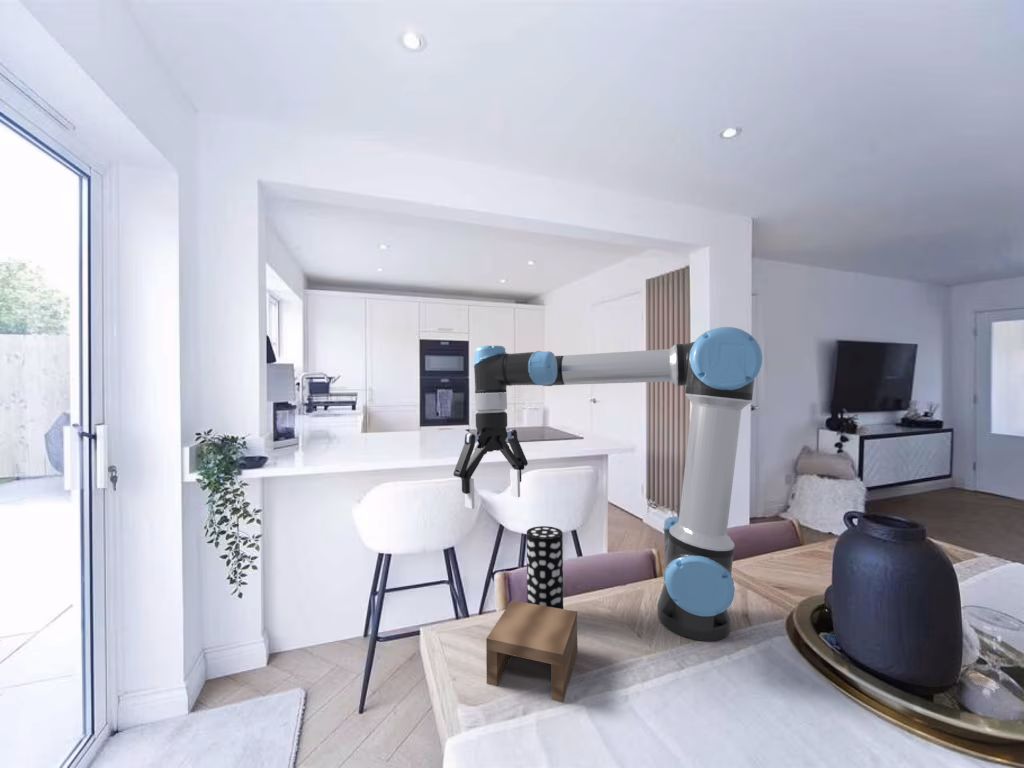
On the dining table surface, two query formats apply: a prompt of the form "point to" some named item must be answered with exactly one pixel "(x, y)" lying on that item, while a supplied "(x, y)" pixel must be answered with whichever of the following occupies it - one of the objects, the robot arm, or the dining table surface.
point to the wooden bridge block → (534, 642)
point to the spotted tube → (545, 566)
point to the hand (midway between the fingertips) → (493, 501)
